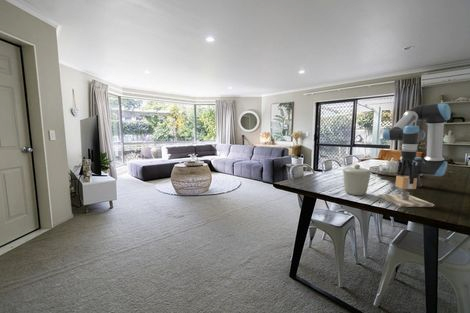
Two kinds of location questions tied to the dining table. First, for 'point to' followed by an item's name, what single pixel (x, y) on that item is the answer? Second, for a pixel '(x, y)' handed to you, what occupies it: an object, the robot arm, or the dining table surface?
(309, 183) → the dining table surface
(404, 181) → the orange block
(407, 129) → the robot arm
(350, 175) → the canister
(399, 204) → the cream flat piece
